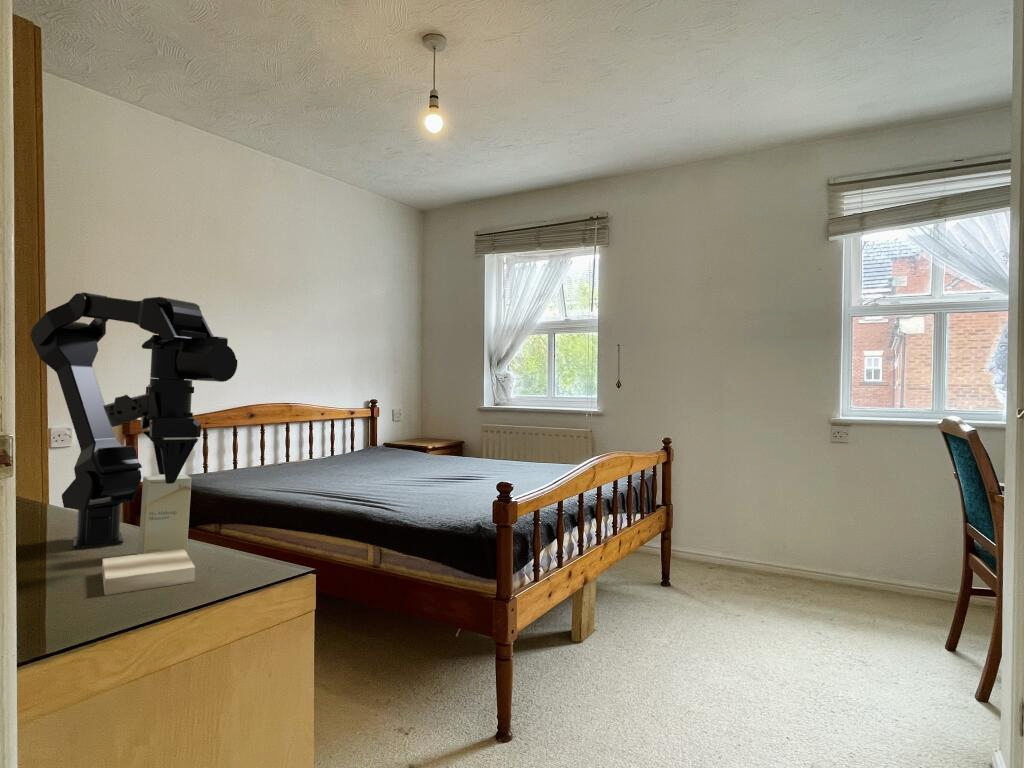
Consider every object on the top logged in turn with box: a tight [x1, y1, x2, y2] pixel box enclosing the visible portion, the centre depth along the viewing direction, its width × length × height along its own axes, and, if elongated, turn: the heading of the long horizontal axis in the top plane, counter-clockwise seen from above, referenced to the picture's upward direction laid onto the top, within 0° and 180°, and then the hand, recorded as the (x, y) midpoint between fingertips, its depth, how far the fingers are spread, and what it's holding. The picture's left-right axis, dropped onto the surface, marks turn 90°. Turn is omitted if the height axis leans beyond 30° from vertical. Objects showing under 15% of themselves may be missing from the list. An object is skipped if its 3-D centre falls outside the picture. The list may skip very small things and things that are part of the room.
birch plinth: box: [101, 549, 196, 596], centre depth 79 cm, size 10×10×2 cm
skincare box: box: [137, 474, 192, 555], centre depth 90 cm, size 6×4×12 cm
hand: (166, 478), depth 90 cm, fingers open, 9 cm apart
